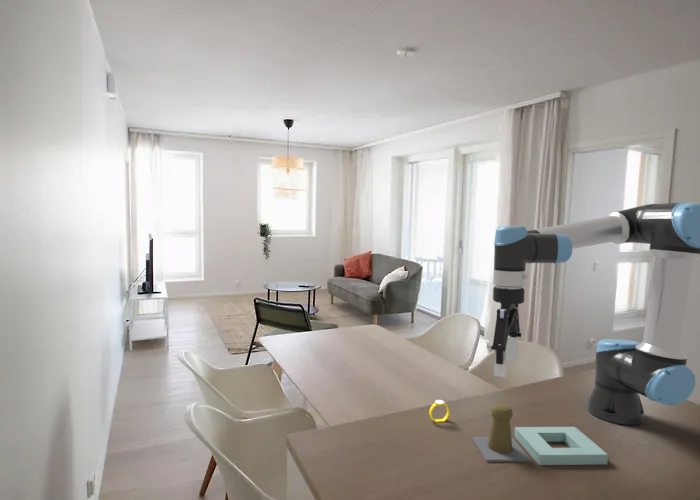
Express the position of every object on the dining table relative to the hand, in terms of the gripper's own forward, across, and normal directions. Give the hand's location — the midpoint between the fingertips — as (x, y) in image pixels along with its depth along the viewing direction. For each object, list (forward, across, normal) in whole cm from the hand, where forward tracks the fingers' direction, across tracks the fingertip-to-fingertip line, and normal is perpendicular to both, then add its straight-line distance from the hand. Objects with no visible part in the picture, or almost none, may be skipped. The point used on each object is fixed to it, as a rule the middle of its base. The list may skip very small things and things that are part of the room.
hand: (506, 368), depth 111 cm
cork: (+20, -2, 0) cm, 21 cm away
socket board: (+21, +6, -12) cm, 25 cm away
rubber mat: (+21, -3, 0) cm, 21 cm away
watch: (+21, +4, +19) cm, 28 cm away
